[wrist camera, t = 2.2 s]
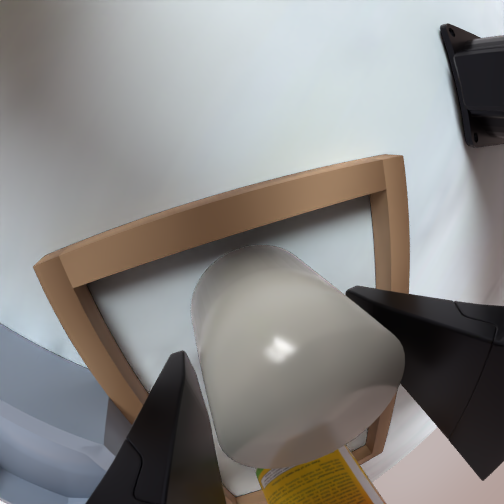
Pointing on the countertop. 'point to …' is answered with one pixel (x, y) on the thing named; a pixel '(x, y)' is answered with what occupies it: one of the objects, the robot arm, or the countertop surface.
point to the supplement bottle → (320, 482)
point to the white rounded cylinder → (288, 359)
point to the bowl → (52, 426)
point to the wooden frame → (211, 229)
